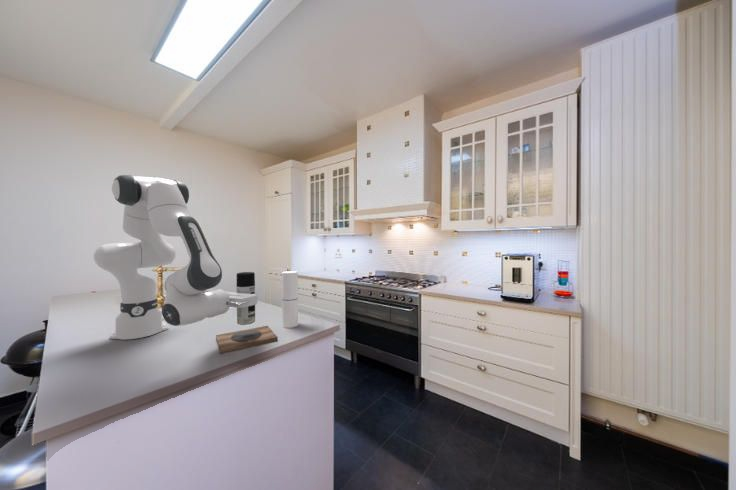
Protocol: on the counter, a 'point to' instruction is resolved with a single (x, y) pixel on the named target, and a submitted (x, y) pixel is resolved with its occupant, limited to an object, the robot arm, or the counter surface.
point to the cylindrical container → (289, 299)
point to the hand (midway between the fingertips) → (247, 294)
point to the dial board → (245, 338)
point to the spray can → (247, 286)
